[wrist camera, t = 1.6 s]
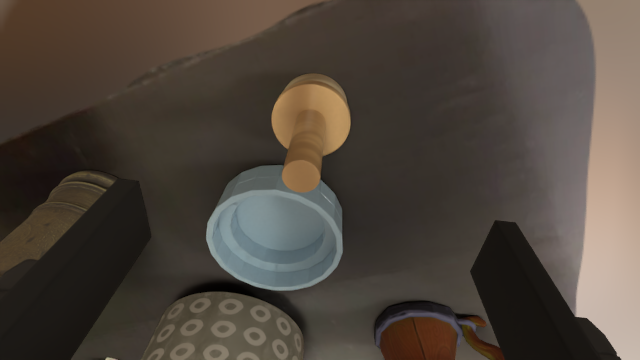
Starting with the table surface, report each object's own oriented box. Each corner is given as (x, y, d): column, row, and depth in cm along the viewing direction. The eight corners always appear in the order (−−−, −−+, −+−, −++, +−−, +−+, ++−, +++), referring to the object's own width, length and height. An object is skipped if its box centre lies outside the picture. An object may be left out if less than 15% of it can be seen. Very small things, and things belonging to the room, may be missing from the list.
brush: (334, 59, 29) (330, 114, 19) (359, 125, 32) (366, 202, 23) (265, 86, 31) (230, 150, 21) (296, 147, 34) (277, 227, 24)
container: (62, 218, 40) (-104, 377, 25) (61, 156, 36) (-143, 306, 21) (140, 243, 42) (28, 407, 27) (150, 186, 37) (20, 347, 22)
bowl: (314, 143, 33) (309, 171, 29) (359, 240, 40) (361, 274, 36) (197, 183, 37) (179, 213, 33) (256, 266, 43) (247, 301, 39)
